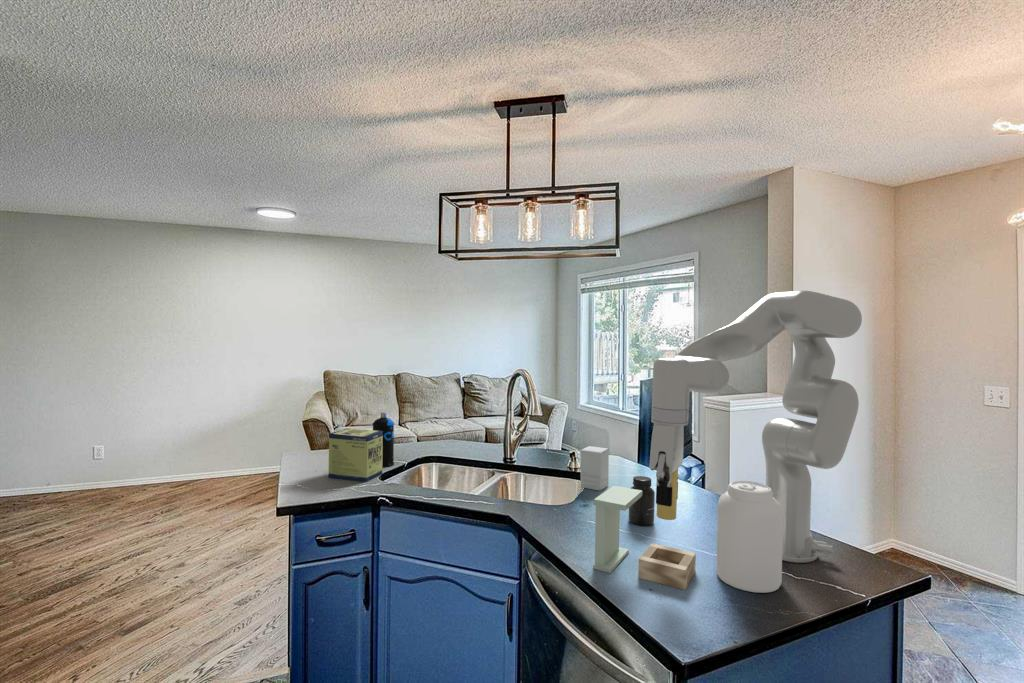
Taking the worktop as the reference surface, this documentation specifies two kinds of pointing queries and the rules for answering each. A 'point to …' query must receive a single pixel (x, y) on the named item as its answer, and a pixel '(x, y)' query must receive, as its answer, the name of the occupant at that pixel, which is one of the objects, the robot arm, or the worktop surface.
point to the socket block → (667, 566)
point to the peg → (667, 511)
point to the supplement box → (594, 467)
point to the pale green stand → (611, 526)
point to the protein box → (355, 454)
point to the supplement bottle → (643, 502)
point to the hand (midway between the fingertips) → (666, 501)
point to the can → (750, 537)
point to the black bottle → (386, 438)
